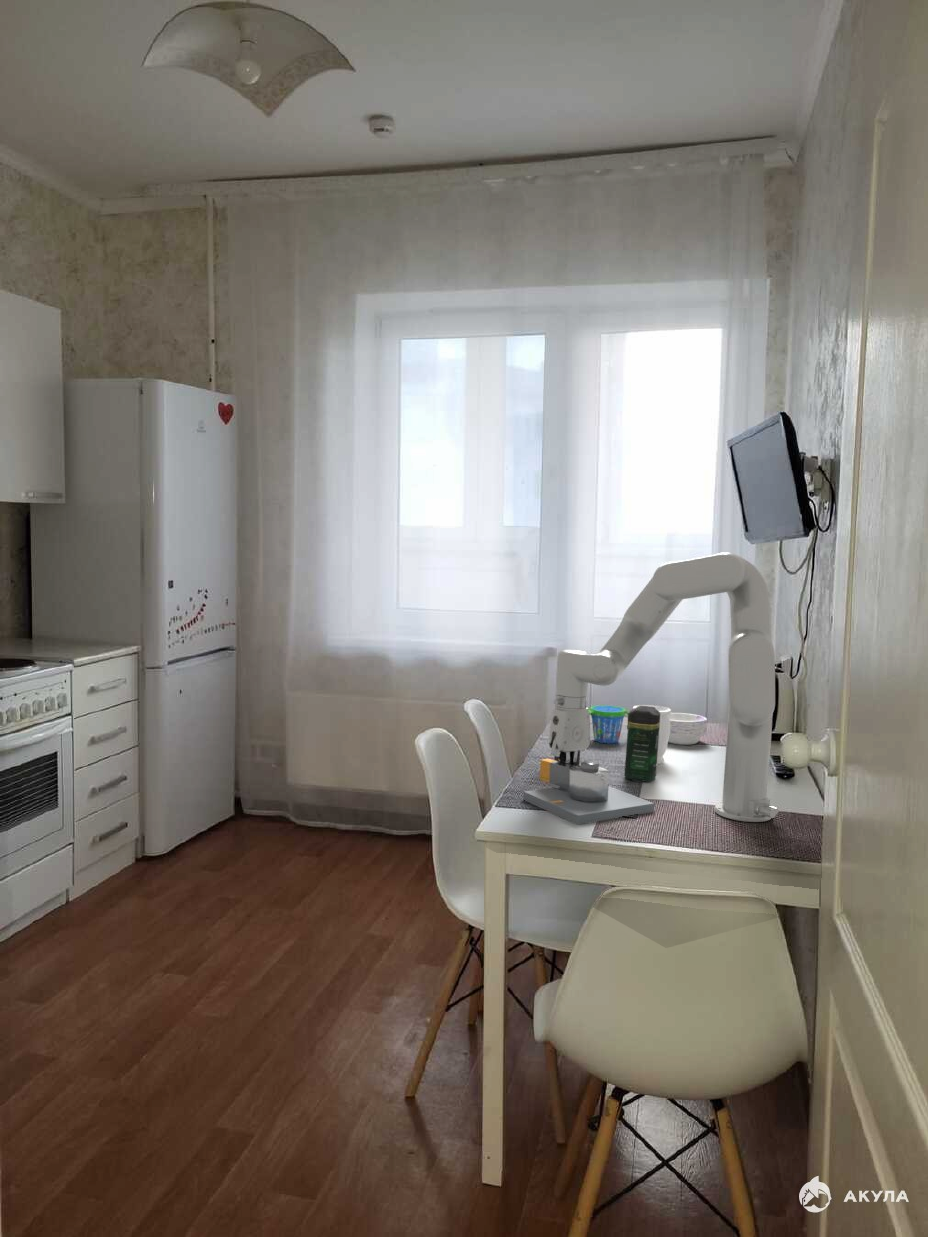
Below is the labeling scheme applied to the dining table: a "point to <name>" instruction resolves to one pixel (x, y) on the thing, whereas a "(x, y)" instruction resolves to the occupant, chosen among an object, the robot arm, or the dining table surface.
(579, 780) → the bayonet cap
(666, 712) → the white cup
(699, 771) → the dining table surface
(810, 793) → the dining table surface
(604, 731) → the snack cup
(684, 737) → the white round hollow piece
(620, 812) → the mounting board
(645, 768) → the coffee jar
